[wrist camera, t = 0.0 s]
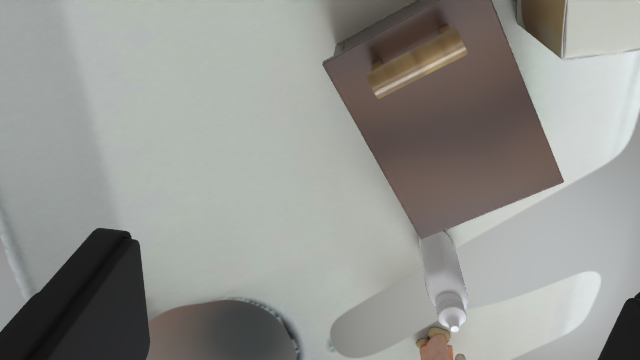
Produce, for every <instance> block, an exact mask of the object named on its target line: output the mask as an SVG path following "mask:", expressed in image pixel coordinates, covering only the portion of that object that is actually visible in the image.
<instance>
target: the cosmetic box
mask: <svg viewBox="0 0 640 360" xmlns="http://www.w3.org/2000/svg"><path fill="white" fill-rule="evenodd" d="M517 24H518V25H520V26H521V27H522V28H523V29H525V30H526V31H527V32H528V33H530V34H531V35H532V36H533V37H535V38H536V39H537V40H538V41H540V42H541V43H542V44H543V45H545V46H546V47H547V48H548V49H550V50H551V51H552V52H553V53H555V54H556V55H557V56H558V57H560V58H561V59H562V60H572V59H580V58H588V57H595V56H604V55H611V54H618V53H625V52H632V51H639V50H640V0H517Z"/></svg>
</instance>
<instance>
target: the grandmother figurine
mask: <svg viewBox="0 0 640 360" xmlns="http://www.w3.org/2000/svg"><path fill="white" fill-rule="evenodd" d="M427 334H428V336H429V337H430V338H431V339H430V340H427V339H420V340H419V341H417V344H416V345H417V347H418V348H419V349H420V355H421V360H453V350H452V346H451V345H447V342H448V341H449V339H450V333H449V332H448V331H446V330H443V329H440V328H437V327H432V328H430V329H429V330H428V332H427ZM455 360H466V358H465V356H464V355H463V354H457V355H456V357H455Z"/></svg>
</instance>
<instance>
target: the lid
mask: <svg viewBox="0 0 640 360" xmlns="http://www.w3.org/2000/svg"><path fill="white" fill-rule="evenodd" d="M323 66H324V68H325V70H326V72H327V73H328V75H329V77H330V79H331V81H332V82H333V84H334V86H335V88H336V89H337V91H338V93H339V95H340V97H341V98H342V100H343V102H344V104H345V105H346V107H347V109H348V111H349V113H350V114H351V116H352V118H353V120H354V121H355V123H356V125H357V127H358V129H359V130H360V132H361V134H362V136H363V137H364V139H365V141H366V143H367V145H368V146H369V148H370V150H371V152H372V153H373V155H374V157H375V159H376V160H377V162H378V164H379V166H380V168H381V169H382V171H383V173H384V175H385V176H386V178H387V180H388V182H389V184H390V185H391V187H392V189H393V191H394V192H395V194H396V196H397V198H398V200H399V201H400V203H401V205H402V207H403V208H404V210H405V212H406V214H407V216H408V217H409V219H410V221H411V223H412V224H413V226H414V228H415V230H416V232H417V233H418V235H419V237H420V239H424V238H426V237H429V236H431V235H434V234H436V233H439V232H441V231H444V230H446V229H449V228H451V227H454V226H456V225H459V224H461V223H464V222H466V221H469V220H471V219H474V218H476V217H479V216H481V215H484V214H486V213H488V212H491V211H493V210H496V209H498V208H501V207H503V206H506V205H508V204H511V203H513V202H516V201H518V200H521V199H523V198H526V197H528V196H531V195H533V194H536V193H538V192H541V191H543V190H546V189H548V188H551V187H553V186H556V185H558V184H561V183H563V182H564V181H563V178H562V176H561V173H560V171H559V168H558V166H557V163H556V161H555V158H554V156H553V153H552V151H551V148H550V146H549V143H548V141H547V138H546V136H545V133H544V131H543V128H542V126H541V123H540V121H539V118H538V116H537V113H536V111H535V108H534V106H533V103H532V101H531V98H530V96H529V93H528V91H527V88H526V86H525V83H524V81H523V78H522V76H521V73H520V71H519V68H518V66H517V63H516V61H515V58H514V56H513V53H512V51H511V48H510V46H509V43H508V41H507V38H506V36H505V33H504V31H503V28H502V26H501V23H500V21H499V18H498V16H497V13H496V11H495V8H494V6H493V3H492V1H491V0H434V1H432V2H430V3H429V4H427V5H425V6H423V7H421V8H420V9H418V10H416V11H414V12H412V13H410V14H409V15H407V16H405V17H403V18H401V19H400V20H398V21H396V22H394V23H392V24H390V25H389V26H387V27H385V28H383V29H381V30H380V31H378V32H376V33H374V34H372V35H370V36H369V37H367V38H365V39H363V40H361V41H359V42H358V43H356V44H354V45H352V46H350V47H349V48H347V49H345V50H343V51H341V52H339V53H338V54H336V55H334V56H332V57H330V58H329V59H327V60H325V61H323Z"/></svg>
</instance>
